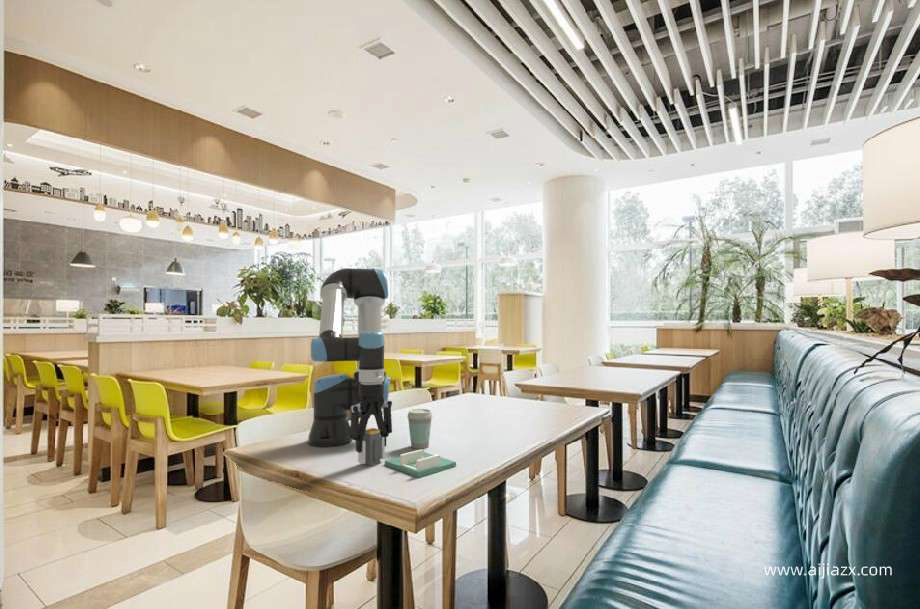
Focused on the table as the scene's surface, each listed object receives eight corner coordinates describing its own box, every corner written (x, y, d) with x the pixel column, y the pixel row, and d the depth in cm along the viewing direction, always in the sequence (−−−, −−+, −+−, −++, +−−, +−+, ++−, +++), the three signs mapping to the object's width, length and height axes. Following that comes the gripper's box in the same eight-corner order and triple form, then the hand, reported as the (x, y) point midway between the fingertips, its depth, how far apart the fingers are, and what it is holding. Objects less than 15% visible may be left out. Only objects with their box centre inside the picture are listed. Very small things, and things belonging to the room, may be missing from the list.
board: (384, 464, 138) (384, 450, 138) (421, 455, 148) (421, 441, 148) (418, 477, 127) (418, 462, 127) (456, 466, 137) (456, 451, 137)
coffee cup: (428, 450, 153) (428, 413, 153) (403, 449, 155) (403, 413, 155) (435, 443, 161) (435, 409, 162) (411, 442, 163) (411, 408, 163)
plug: (362, 463, 140) (362, 429, 140) (372, 460, 142) (372, 427, 143) (371, 466, 137) (371, 432, 137) (381, 463, 139) (381, 430, 139)
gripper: (350, 387, 131) (350, 470, 130) (404, 381, 144) (404, 456, 144) (336, 384, 137) (336, 464, 136) (390, 378, 150) (390, 451, 149)
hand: (371, 460), depth 140 cm, fingers open, 6 cm apart
